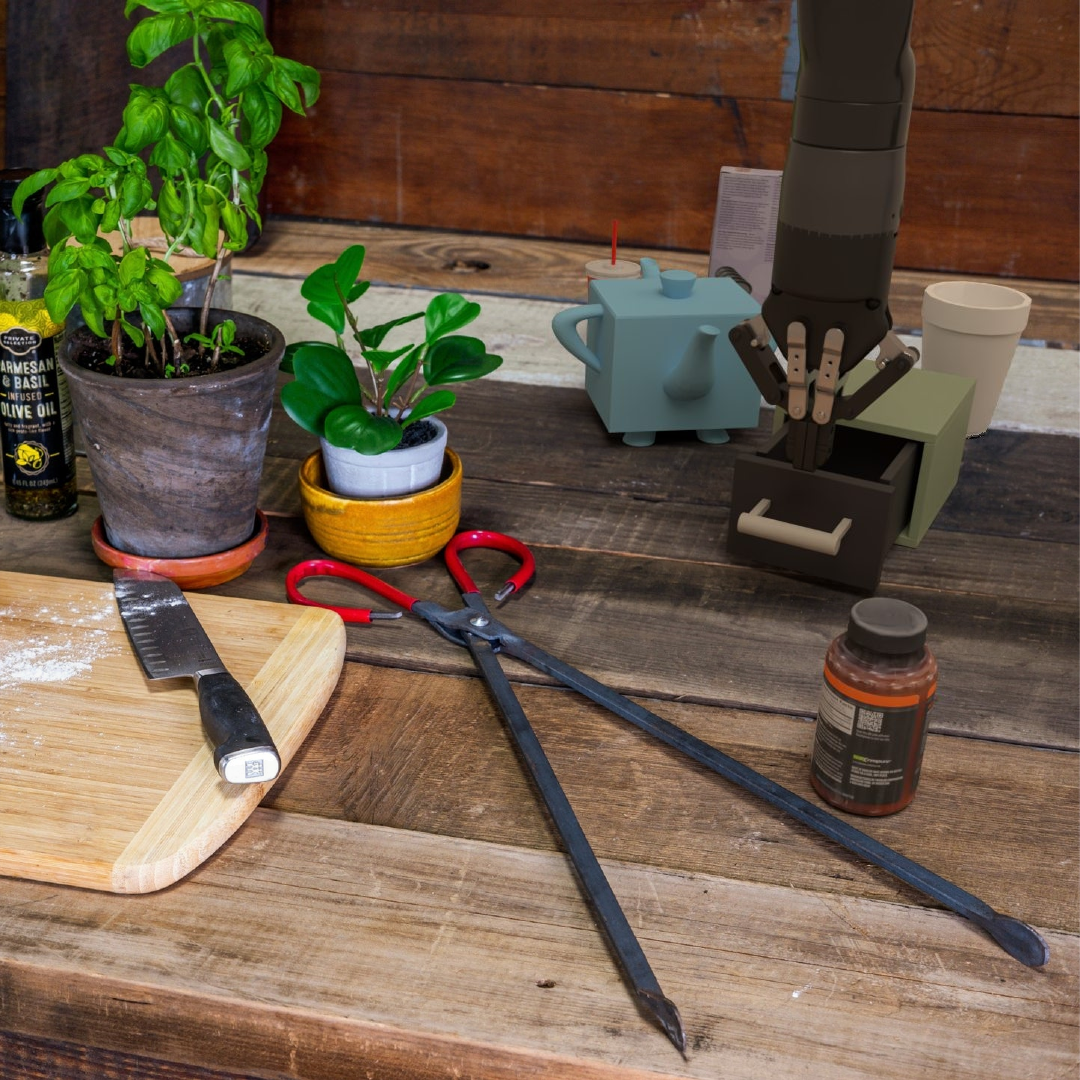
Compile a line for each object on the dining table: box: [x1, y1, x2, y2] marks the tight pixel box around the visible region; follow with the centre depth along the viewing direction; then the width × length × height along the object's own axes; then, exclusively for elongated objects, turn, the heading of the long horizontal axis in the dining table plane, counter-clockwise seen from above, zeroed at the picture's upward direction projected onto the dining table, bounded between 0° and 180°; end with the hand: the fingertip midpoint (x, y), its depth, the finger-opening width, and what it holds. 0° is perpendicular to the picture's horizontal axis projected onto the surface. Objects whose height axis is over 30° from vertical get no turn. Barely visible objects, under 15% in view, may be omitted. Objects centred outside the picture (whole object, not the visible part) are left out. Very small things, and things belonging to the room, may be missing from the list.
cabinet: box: [771, 358, 977, 549], centre depth 104 cm, size 15×13×10 cm
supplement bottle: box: [809, 596, 939, 817], centre depth 69 cm, size 6×6×11 cm
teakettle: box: [551, 256, 778, 447], centre depth 117 cm, size 19×19×15 cm
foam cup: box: [920, 280, 1033, 437], centre depth 119 cm, size 10×9×13 cm
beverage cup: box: [584, 219, 642, 298], centre depth 138 cm, size 6×6×14 cm
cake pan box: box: [707, 165, 783, 306], centre depth 146 cm, size 19×5×18 cm, turn 80°
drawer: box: [725, 420, 925, 592], centre depth 94 cm, size 18×11×8 cm, turn 151°
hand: (807, 466), depth 87 cm, fingers closed
